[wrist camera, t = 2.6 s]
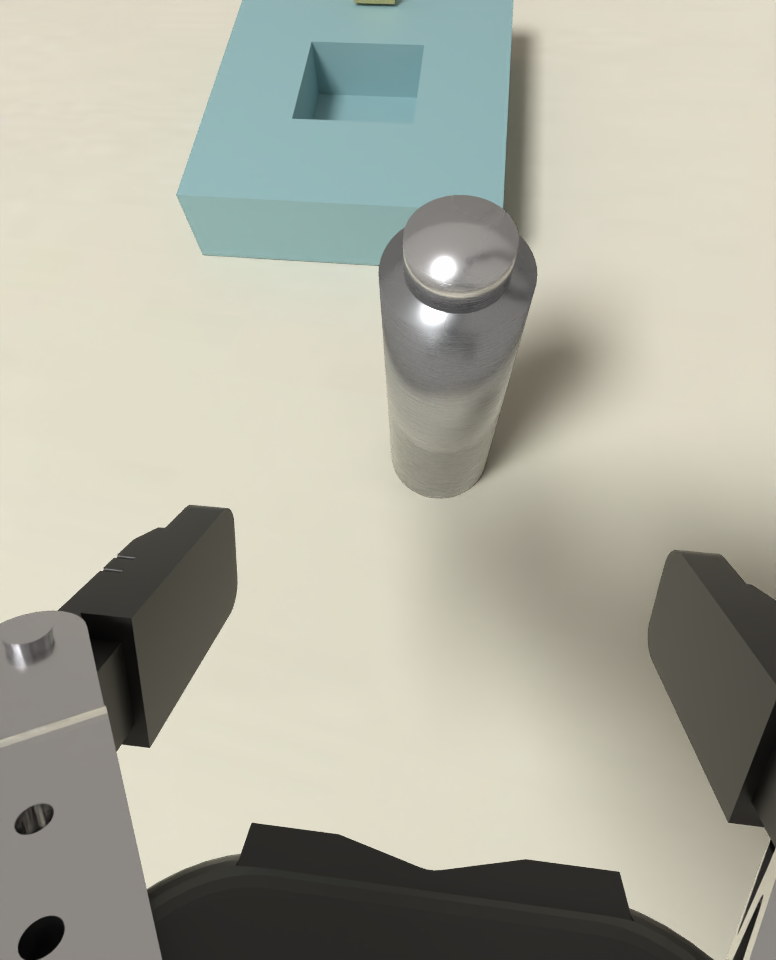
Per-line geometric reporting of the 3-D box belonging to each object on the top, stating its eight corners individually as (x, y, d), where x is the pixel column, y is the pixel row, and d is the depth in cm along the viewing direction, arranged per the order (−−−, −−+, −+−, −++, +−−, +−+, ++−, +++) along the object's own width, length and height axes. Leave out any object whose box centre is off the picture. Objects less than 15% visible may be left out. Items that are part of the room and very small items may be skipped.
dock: (504, 56, 38) (514, -15, 35) (492, 272, 31) (502, 211, 28) (264, 48, 40) (249, -21, 36) (202, 254, 33) (176, 194, 29)
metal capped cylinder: (488, 416, 28) (547, 180, 16) (483, 502, 26) (545, 311, 14) (396, 409, 28) (386, 172, 16) (386, 493, 27) (366, 299, 15)
